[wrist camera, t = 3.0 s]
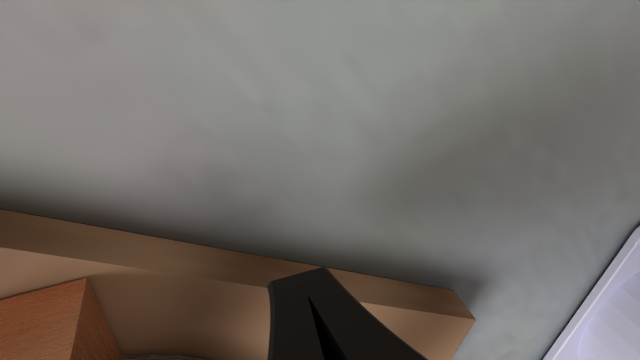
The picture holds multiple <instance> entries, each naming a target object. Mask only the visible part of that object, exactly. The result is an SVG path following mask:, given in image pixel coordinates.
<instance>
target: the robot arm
mask: <svg viewBox="0 0 640 360" xmlns="http://www.w3.org/2000/svg"><path fill="white" fill-rule="evenodd" d="M267 289H268V293H269V300H270V335H269V348H268V359H267V360H428V359H427V358H425V357H424V356H423V355H421V354H420V353H419V352H417V351H416V350H415V349H413V348H412V347H411V346H409V345H408V344H407V343H406V342H404V341H403V340H402V339H400V338H399V337H398V336H397V335H395V334H394V333H393V332H392V331H391V330H389V329H388V328H387V327H386V326H385V325H384V324H383V323H381V322H380V321H379V320H378V319H377V318H376V317H375V316H374V315H372V314H371V313H370V312H369V311H368V310H367V309H366V308H365V307H364V306H363V305H361V304H360V303H359V302H358V301H357V300H356V299H355V298H354V297H353V296H352V295H351V294H350V293H349V292H348V291H347V290H346V289H345V288H344V287H343V285H342V284H341V283H340V282H339V281H338V280H337V279H336V278H335V277H334V275H333V274H332V273H331V272H330V271H329V270H328V269H327V268H325V267H320V268H317V269H313V270H309V271H306V272H302V273H299V274H295V275H291V276H288V277H284V278H281V279H277V280H273V281H271V282H270V283H269V285H268V286H267ZM543 360H640V226H639V227H637V228H636V229H635V231H634V232H633V233H632V235H631V236H630V237H629V239H628V240H627V242H626V243H625V244H624V246H623V247H622V249H621V250H620V251H619V253H618V254H617V256H616V257H615V258H614V260H613V261H612V263H611V264H610V265H609V267H608V268H607V270H606V271H605V273H604V274H603V275H602V277H601V278H600V280H599V281H598V282H597V284H596V285H595V287H594V288H593V289H592V291H591V292H590V294H589V295H588V296H587V298H586V299H585V301H584V302H583V303H582V305H581V306H580V308H579V309H578V310H577V312H576V313H575V315H574V316H573V318H572V319H571V320H570V322H569V323H568V325H567V326H566V327H565V329H564V330H563V332H562V333H561V334H560V336H559V337H558V339H557V340H556V341H555V343H554V344H553V346H552V347H551V348H550V350H549V351H548V353H547V354H546V356H545V357H544V358H543Z"/></svg>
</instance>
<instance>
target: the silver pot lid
mask: <svg viewBox="0 0 640 360" xmlns="http://www.w3.org/2000/svg"><path fill="white" fill-rule="evenodd" d="M0 360H206V359H202V358H196V357H189V356H181V355H163V354H146V355H128V356H122V354H121V352H120V350H119V348H118V345H117V343H116V341H115V339H114V337H113V334H112V332H111V330H110V328H109V326H108V323H107V321H106V319H105V317H104V315H103V312H102V310H101V308H100V306H99V304H98V301H97V299H96V297H95V295H94V293H93V290H92V288H91V286H90V284H89V282H88V280H87V278H84V279H80V280H76V281H72V282H68V283H64V284H61V285H57V286H53V287H49V288H45V289H41V290H37V291H34V292H30V293H26V294H22V295H18V296H14V297H10V298H6V299H3V300H0Z"/></svg>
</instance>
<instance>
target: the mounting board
mask: <svg viewBox="0 0 640 360" xmlns="http://www.w3.org/2000/svg"><path fill="white" fill-rule="evenodd" d="M317 268H320V266H314V265H309V264H303V263H298V262H292V261H287V260H281V259H275V258H270V257H264V256H259V255H253V254H247V253H242V252H236V251H231V250H225V249H220V248H214V247H208V246H203V245H197V244H192V243H186V242H180V241H175V240H169V239H164V238H158V237H153V236H147V235H141V234H136V233H130V232H125V231H119V230H113V229H108V228H102V227H97V226H91V225H86V224H80V223H74V222H69V221H63V220H58V219H52V218H46V217H41V216H35V215H30V214H24V213H19V212H13V211H7V210H2V209H0V300H3V299H6V298H10V297H14V296H18V295H22V294H26V293H30V292H34V291H37V290H41V289H45V288H49V287H53V286H57V285H61V284H64V283H68V282H72V281H76V280H80V279H84V278H87V280H88V282H89V284H90V286H91V288H92V290H93V293H94V295H95V297H96V299H97V301H98V304H99V306H100V308H101V310H102V312H103V315H104V317H105V319H106V321H107V323H108V326H109V328H110V330H111V332H112V334H113V337H114V339H115V341H116V343H117V345H118V348H119V350H120V352H121V354H122V356H128V355H146V354H163V355H181V356H189V357H196V358H202V359H206V360H267V359H268V348H269V335H270V300H269V293H268V289H267V286H268V285H269V283H270V282H271V281H273V280H277V279H281V278H284V277H288V276H291V275H295V274H299V273H302V272H306V271H309V270H313V269H317ZM325 268H326V267H325ZM327 269H328V270H329V271H330V272H331V273H332V274H333V275H334V277H335V278H336V279H337V280H338V281H339V282H340V283H341V284H342V285H343V287H344V288H345V289H346V290H347V291H348V292H349V293H350V294H351V295H352V296H353V297H354V298H355V299H356V300H357V301H358V302H359V303H360V304H361V305H363V306H364V307H365V308H366V309H367V310H368V311H369V312H370V313H371V314H372V315H374V316H375V317H376V318H377V319H378V320H379V321H380V322H381V323H383V324H384V325H385V326H386V327H387V328H388V329H389V330H391V331H392V332H393V333H394V334H395V335H397V336H398V337H399V338H400V339H402V340H403V341H404V342H406V343H407V344H408V345H409V346H411V347H412V348H413V349H415V350H416V351H417V352H419V353H420V354H421V355H423V356H424V357H425V358H427V359H428V360H451V359H452V357H453V356H454V354H455V352H456V351H457V349H458V348H459V346H460V344H461V343H462V341H463V340H464V338H465V337H466V335H467V333H468V332H469V330H470V329H471V327H472V325H473V324H474V322H475V321H476V319H475V318H474V317H473V315H472V314H471V313H470V311H469V310H468V309H467V308H466V306H465V305H464V304H463V302H462V301H461V300H460V299H459V297H458V296H457V295H456V293H455V292H454V291H453V290H448V289H443V288H437V287H432V286H426V285H421V284H415V283H409V282H404V281H398V280H393V279H387V278H381V277H376V276H370V275H365V274H359V273H354V272H348V271H342V270H337V269H331V268H327Z"/></svg>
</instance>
